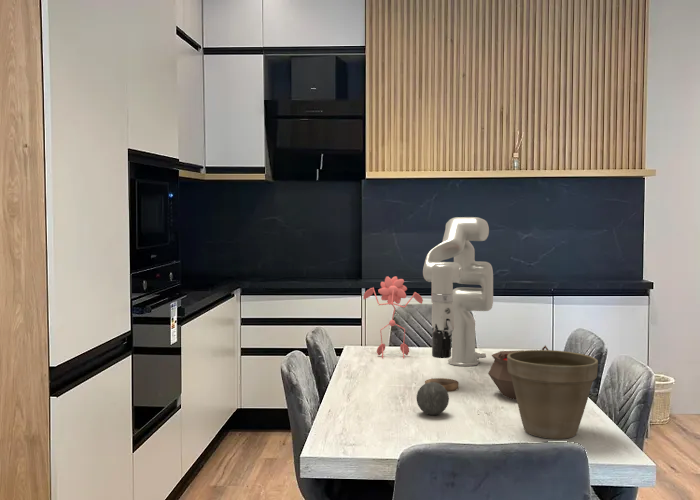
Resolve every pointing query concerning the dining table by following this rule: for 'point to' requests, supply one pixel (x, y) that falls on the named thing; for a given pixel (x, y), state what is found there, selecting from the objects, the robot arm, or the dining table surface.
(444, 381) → the stand
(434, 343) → the supplement bottle
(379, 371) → the dining table surface
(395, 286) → the figurine
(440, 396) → the decorative ball
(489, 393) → the dining table surface
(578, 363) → the plant pot
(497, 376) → the brown faceted vessel
